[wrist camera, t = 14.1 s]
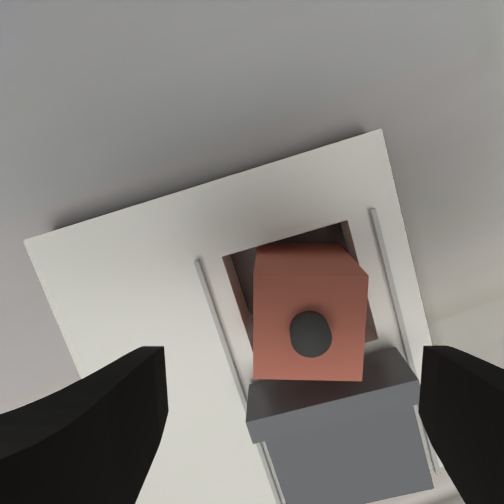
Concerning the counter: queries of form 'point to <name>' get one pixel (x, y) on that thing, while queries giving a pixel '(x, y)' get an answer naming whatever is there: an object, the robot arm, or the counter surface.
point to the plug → (308, 313)
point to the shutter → (343, 434)
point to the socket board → (226, 300)
